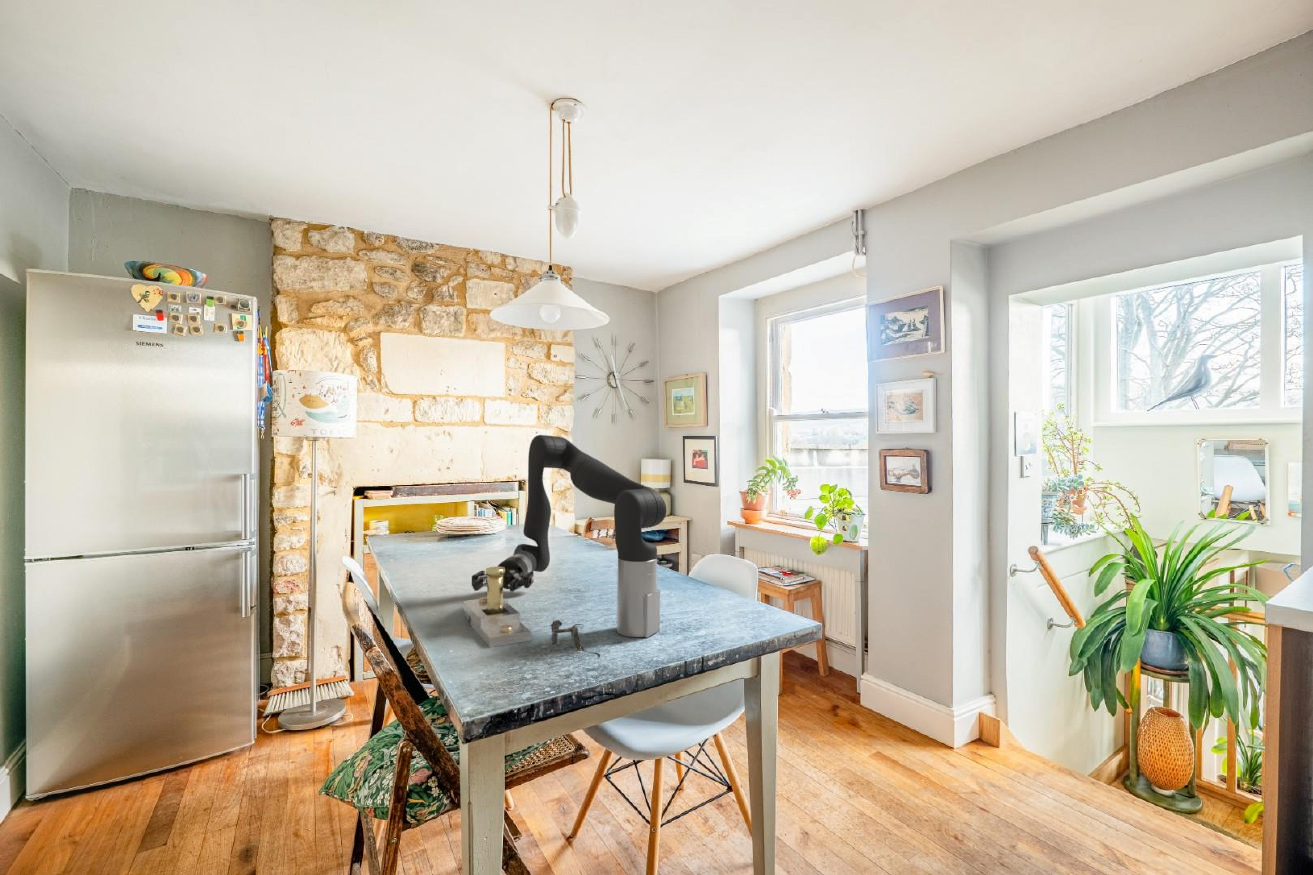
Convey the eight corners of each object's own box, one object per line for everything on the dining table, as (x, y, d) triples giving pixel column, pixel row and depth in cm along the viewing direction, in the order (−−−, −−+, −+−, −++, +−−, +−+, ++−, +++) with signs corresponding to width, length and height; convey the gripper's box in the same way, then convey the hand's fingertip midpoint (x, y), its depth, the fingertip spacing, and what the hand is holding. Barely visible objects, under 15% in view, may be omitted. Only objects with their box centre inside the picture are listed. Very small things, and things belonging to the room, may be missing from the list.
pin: (508, 626, 138) (509, 567, 138) (495, 632, 134) (495, 571, 134) (494, 623, 140) (495, 565, 140) (481, 628, 136) (481, 569, 136)
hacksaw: (552, 625, 141) (552, 619, 141) (594, 623, 142) (594, 617, 142) (549, 663, 117) (549, 656, 117) (600, 661, 119) (600, 654, 119)
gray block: (530, 640, 129) (530, 618, 129) (490, 647, 124) (490, 625, 124) (498, 611, 149) (499, 593, 149) (463, 616, 145) (463, 597, 145)
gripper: (487, 555, 152) (463, 570, 136) (541, 557, 151) (523, 571, 135) (487, 584, 152) (463, 602, 136) (540, 585, 151) (523, 603, 135)
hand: (493, 586), depth 136 cm, fingers open, 8 cm apart
